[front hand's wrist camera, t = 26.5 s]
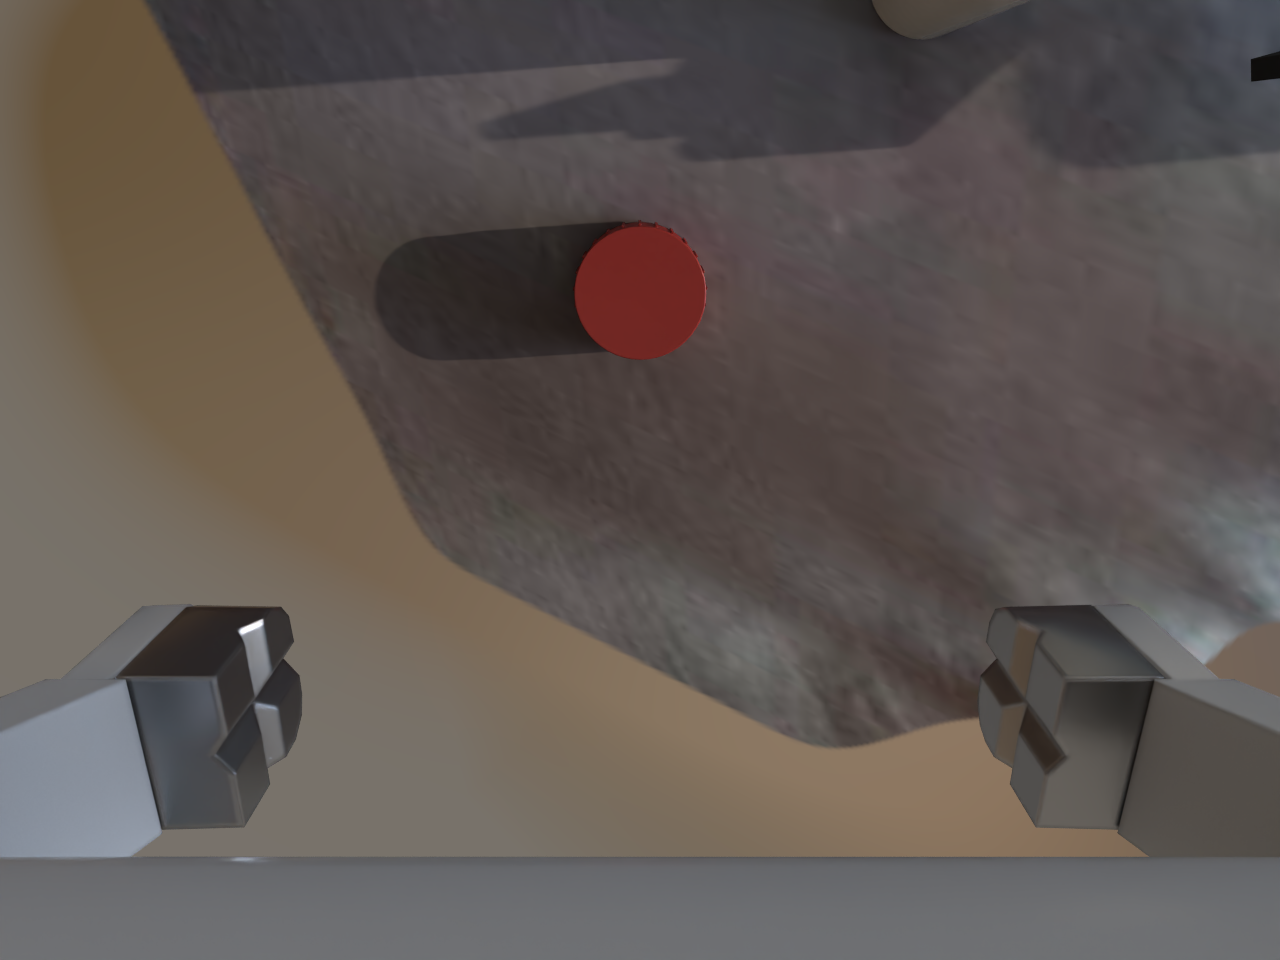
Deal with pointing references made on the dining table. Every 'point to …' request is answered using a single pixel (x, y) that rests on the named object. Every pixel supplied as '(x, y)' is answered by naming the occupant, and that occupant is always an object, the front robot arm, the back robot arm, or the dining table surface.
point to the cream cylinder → (937, 15)
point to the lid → (640, 291)
